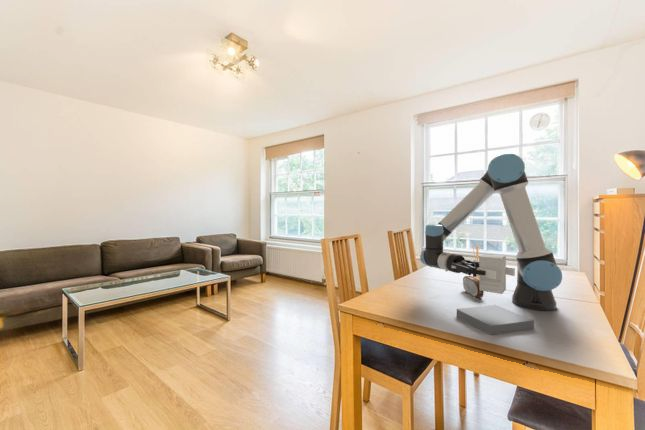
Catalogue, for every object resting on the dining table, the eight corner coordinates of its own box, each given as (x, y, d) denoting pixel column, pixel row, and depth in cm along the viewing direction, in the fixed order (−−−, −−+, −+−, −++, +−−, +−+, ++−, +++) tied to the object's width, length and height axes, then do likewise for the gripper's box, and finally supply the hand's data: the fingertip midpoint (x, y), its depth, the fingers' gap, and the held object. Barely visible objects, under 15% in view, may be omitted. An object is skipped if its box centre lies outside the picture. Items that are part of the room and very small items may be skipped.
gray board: (495, 312, 112) (495, 304, 111) (534, 328, 96) (534, 320, 96) (456, 316, 107) (456, 308, 107) (490, 334, 92) (490, 325, 92)
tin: (484, 300, 126) (484, 281, 126) (477, 300, 126) (477, 281, 126) (468, 290, 141) (468, 273, 141) (461, 290, 141) (461, 273, 141)
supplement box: (506, 289, 102) (506, 255, 101) (502, 294, 96) (502, 258, 96) (483, 286, 107) (483, 253, 106) (478, 290, 101) (478, 255, 101)
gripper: (470, 268, 122) (524, 280, 102) (432, 274, 113) (483, 288, 93) (470, 251, 122) (524, 260, 102) (432, 255, 113) (483, 265, 93)
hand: (505, 273), depth 97 cm, fingers closed on supplement box, 9 cm apart
